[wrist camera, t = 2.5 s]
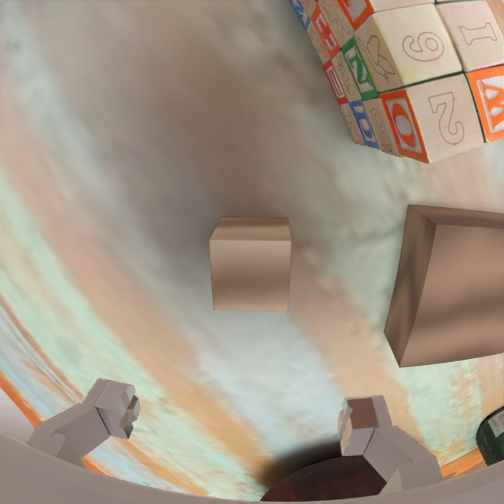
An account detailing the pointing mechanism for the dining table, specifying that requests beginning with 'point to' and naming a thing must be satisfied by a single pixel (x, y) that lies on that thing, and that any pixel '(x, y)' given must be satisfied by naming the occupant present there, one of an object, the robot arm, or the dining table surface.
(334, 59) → the stack of blocks
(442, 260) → the walnut block
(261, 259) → the beige wooden cube
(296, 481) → the jug
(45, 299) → the dining table surface
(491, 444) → the coffee jar
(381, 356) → the dining table surface
